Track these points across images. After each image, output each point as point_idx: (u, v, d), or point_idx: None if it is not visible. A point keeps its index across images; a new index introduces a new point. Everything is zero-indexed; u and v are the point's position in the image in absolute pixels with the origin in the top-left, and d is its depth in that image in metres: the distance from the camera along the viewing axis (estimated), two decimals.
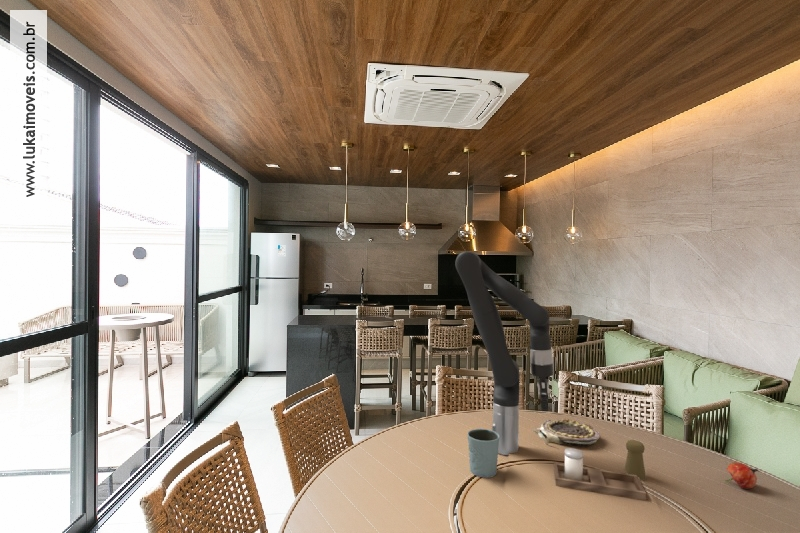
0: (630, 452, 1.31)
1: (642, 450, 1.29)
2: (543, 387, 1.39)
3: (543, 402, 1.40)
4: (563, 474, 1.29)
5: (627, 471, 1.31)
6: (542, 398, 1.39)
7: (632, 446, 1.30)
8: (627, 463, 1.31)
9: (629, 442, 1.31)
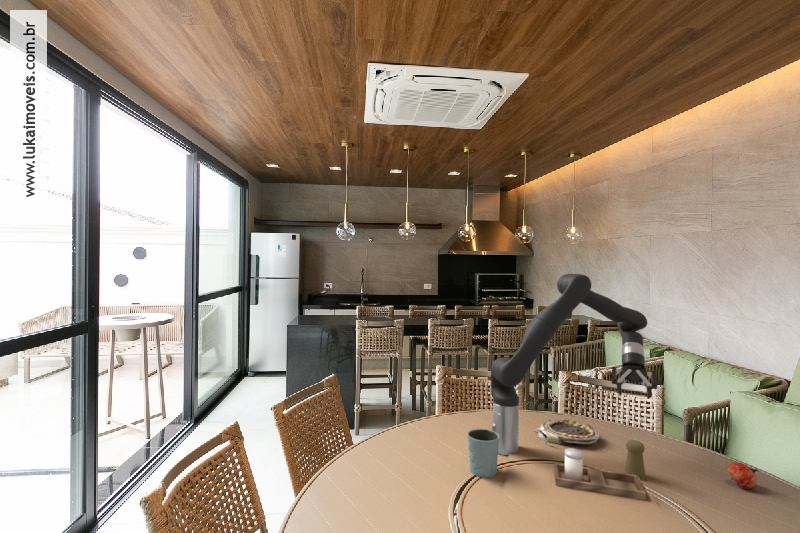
0: (630, 452, 1.31)
1: (642, 450, 1.29)
2: (655, 376, 1.44)
3: None
4: (563, 474, 1.29)
5: (627, 471, 1.31)
6: None
7: (632, 446, 1.30)
8: (627, 463, 1.31)
9: (629, 442, 1.31)
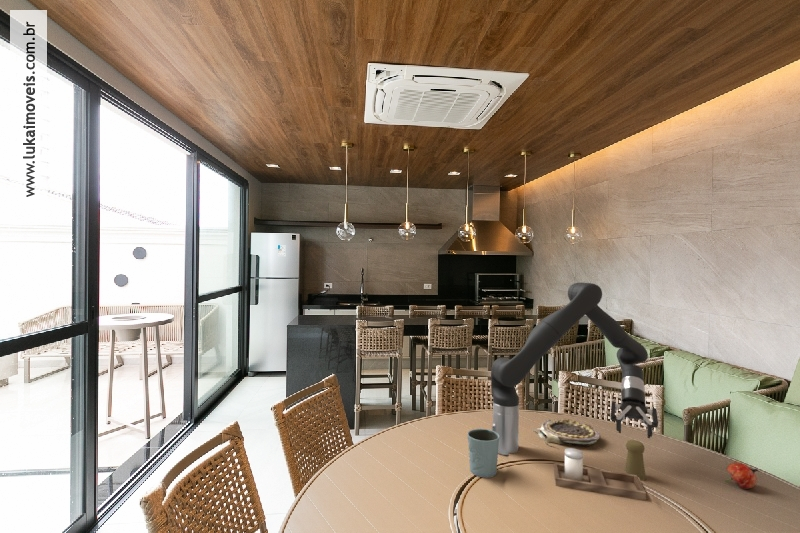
0: (630, 452, 1.31)
1: (642, 450, 1.29)
2: (656, 413, 1.40)
3: (651, 428, 1.37)
4: (563, 474, 1.29)
5: (627, 471, 1.31)
6: None
7: (632, 446, 1.30)
8: (627, 463, 1.31)
9: (629, 442, 1.31)
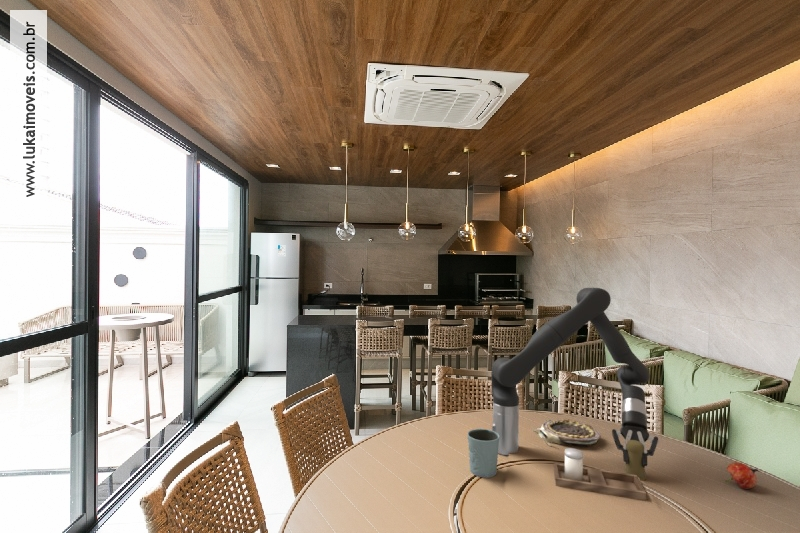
0: (630, 452, 1.31)
1: (642, 450, 1.29)
2: None
3: (646, 456, 1.30)
4: (563, 474, 1.29)
5: (627, 471, 1.31)
6: (653, 452, 1.30)
7: (632, 446, 1.30)
8: None
9: (629, 442, 1.31)
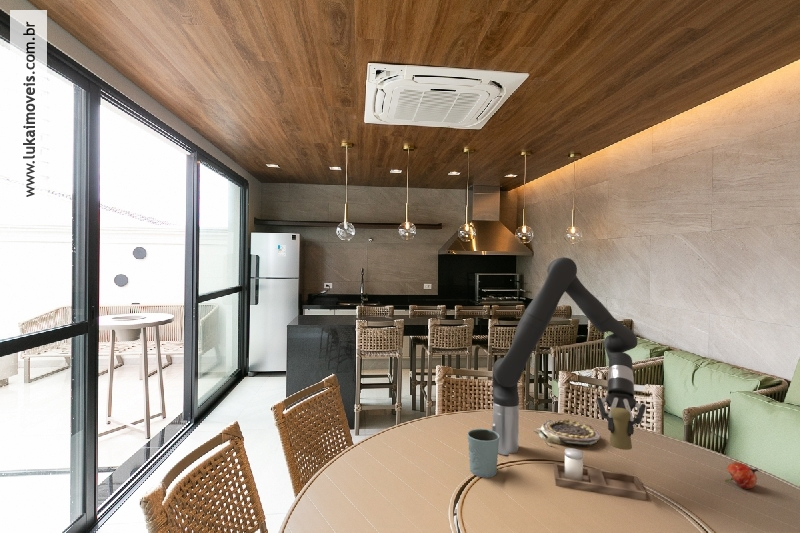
0: (616, 420, 1.22)
1: (628, 417, 1.20)
2: (644, 410, 1.23)
3: None
4: (563, 474, 1.29)
5: (612, 440, 1.22)
6: (640, 420, 1.21)
7: (617, 413, 1.21)
8: None
9: (614, 409, 1.22)
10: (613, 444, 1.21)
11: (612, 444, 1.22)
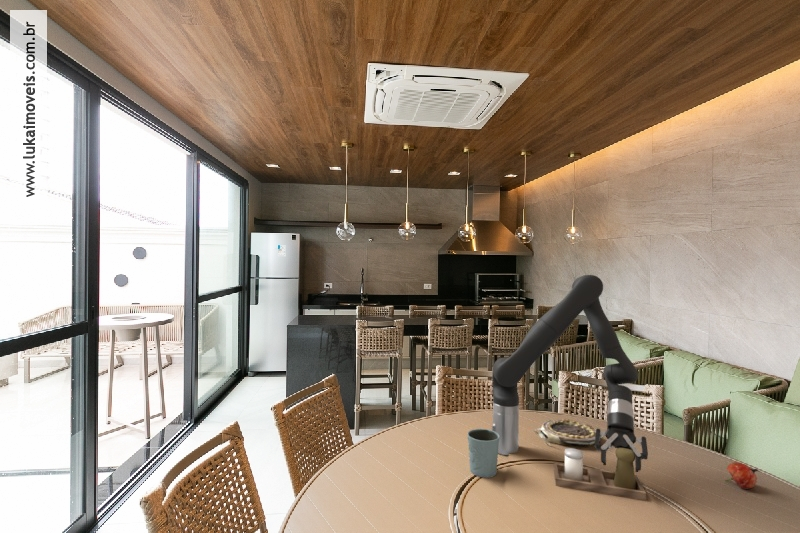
0: (620, 461, 1.22)
1: (633, 458, 1.21)
2: None
3: (640, 460, 1.20)
4: (563, 474, 1.29)
5: (617, 481, 1.22)
6: None
7: (622, 454, 1.21)
8: (616, 472, 1.23)
9: (619, 450, 1.23)
10: (618, 485, 1.22)
11: (617, 485, 1.22)
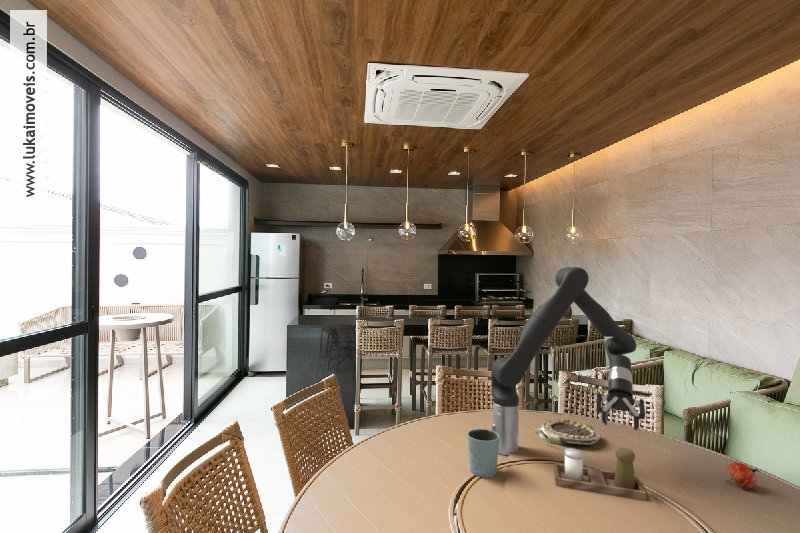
0: (620, 461, 1.22)
1: (632, 458, 1.21)
2: (643, 405, 1.35)
3: (638, 419, 1.32)
4: (563, 474, 1.29)
5: (617, 481, 1.22)
6: None
7: (621, 454, 1.21)
8: (616, 472, 1.23)
9: (619, 450, 1.23)
10: (618, 485, 1.22)
11: (617, 485, 1.22)
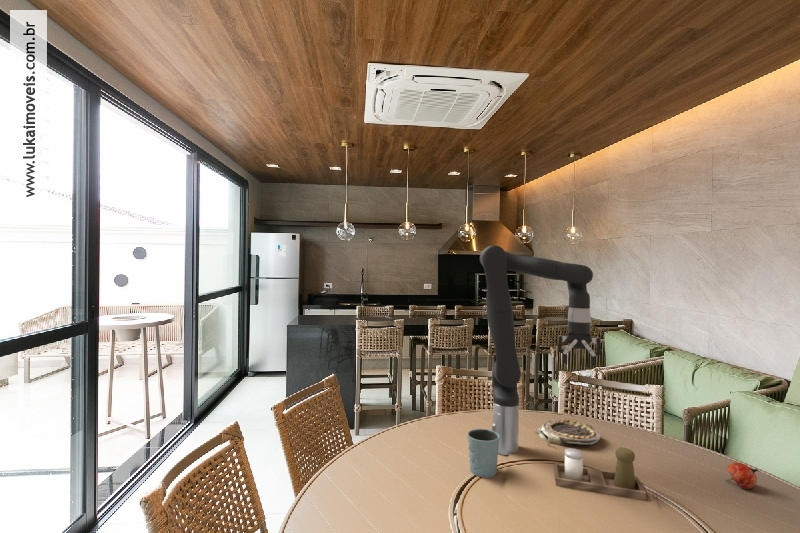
0: (620, 461, 1.22)
1: (632, 458, 1.21)
2: (600, 342, 1.44)
3: None
4: (563, 474, 1.29)
5: (617, 481, 1.22)
6: None
7: (621, 454, 1.21)
8: (616, 472, 1.23)
9: (619, 450, 1.23)
10: (618, 485, 1.22)
11: (617, 485, 1.22)
